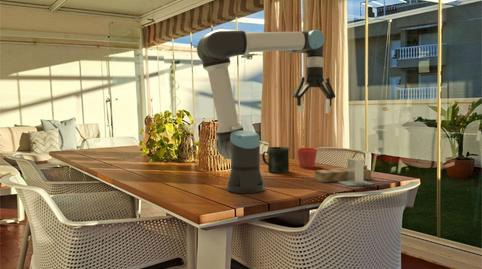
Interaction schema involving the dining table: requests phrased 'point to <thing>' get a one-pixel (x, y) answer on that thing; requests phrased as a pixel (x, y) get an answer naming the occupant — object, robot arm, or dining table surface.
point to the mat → (354, 184)
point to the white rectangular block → (355, 170)
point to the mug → (277, 159)
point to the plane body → (338, 175)
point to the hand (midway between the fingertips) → (314, 113)
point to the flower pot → (306, 157)
